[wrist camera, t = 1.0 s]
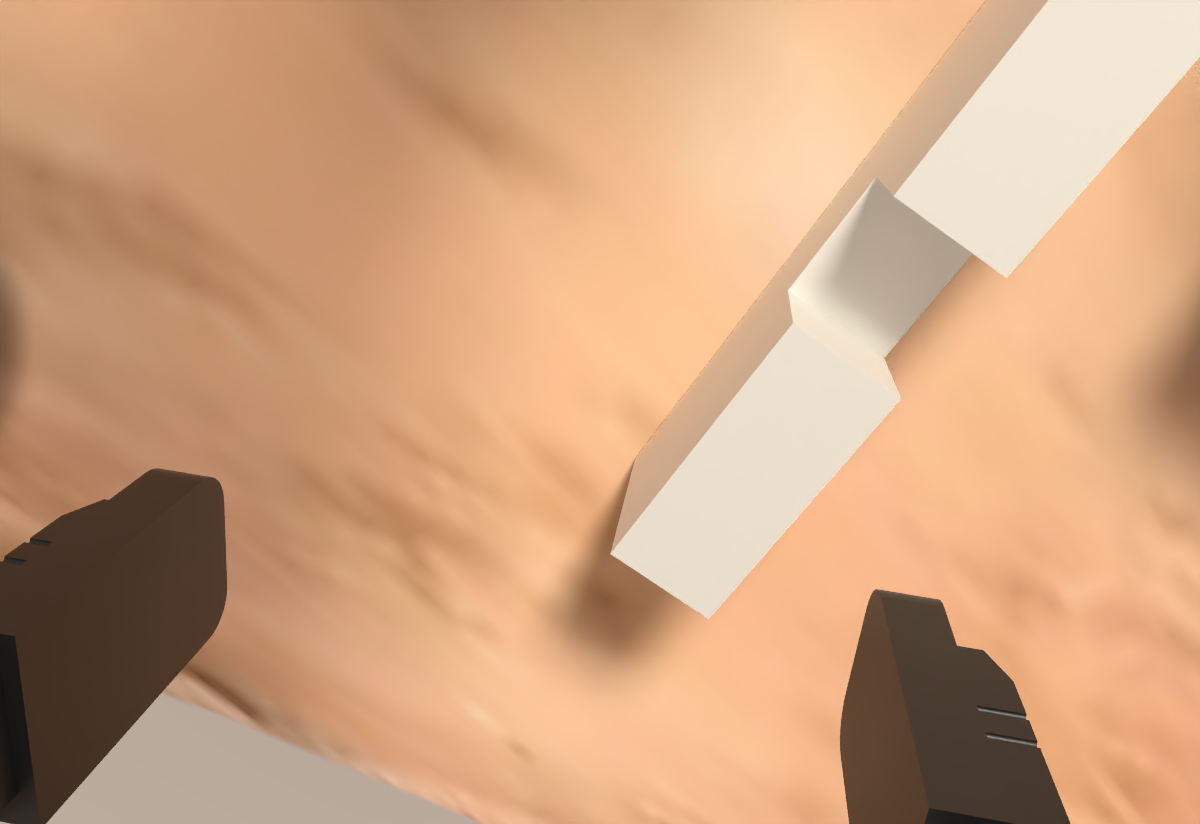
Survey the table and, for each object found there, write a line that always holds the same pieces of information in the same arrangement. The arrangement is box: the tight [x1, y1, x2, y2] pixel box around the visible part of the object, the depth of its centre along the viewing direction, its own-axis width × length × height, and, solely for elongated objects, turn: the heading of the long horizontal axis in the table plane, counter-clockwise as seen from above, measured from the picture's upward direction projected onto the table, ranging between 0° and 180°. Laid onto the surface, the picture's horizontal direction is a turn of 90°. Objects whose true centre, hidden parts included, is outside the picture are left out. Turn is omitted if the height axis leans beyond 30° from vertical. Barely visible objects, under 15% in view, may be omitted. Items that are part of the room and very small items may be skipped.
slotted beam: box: [610, 0, 1200, 619], centre depth 32 cm, size 24×4×8 cm, turn 146°
